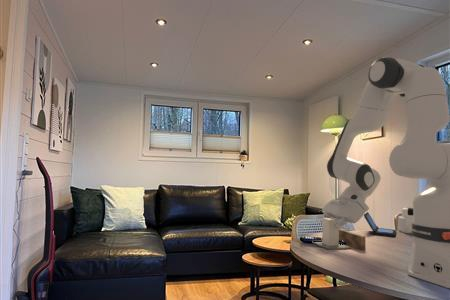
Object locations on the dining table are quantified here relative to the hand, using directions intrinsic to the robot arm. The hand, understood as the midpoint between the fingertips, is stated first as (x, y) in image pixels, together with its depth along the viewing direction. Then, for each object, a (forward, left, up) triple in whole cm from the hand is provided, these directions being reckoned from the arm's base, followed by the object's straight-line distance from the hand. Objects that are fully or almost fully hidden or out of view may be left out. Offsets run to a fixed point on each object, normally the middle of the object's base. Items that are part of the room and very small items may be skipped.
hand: (329, 225), depth 125 cm
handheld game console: (+19, -41, -9) cm, 46 cm away
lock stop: (0, -1, -7) cm, 7 cm away
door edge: (+2, -10, -8) cm, 13 cm away
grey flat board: (0, -1, -8) cm, 8 cm away
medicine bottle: (+19, -58, -8) cm, 61 cm away
